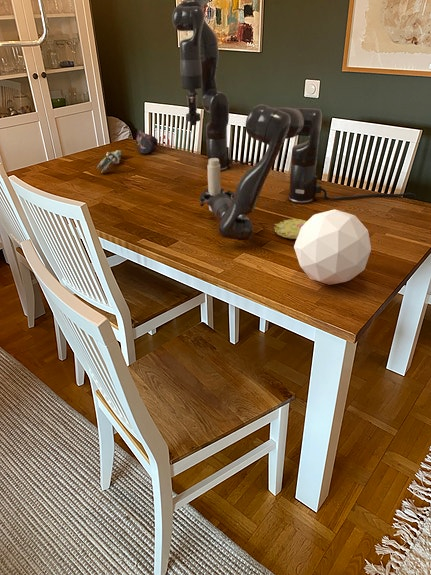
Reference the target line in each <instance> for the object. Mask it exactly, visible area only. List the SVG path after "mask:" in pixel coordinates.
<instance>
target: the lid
mask: <svg viewBox="0 0 431 575" xmlns="http://www.w3.org/2000/svg"><path fill="white" fill-rule="evenodd" d="M185 121H186V122H188V123H190V114H189V112H188V113H186V114H185ZM197 122H201V113H199V112H197V113H196V123H197Z"/></svg>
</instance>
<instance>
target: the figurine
mask: <svg viewBox="0 0 431 575" xmlns="http://www.w3.org/2000/svg"><path fill="white" fill-rule="evenodd" d="M122 153H123V152H122V150H115V151H111V152H110V151H107V152H106V153H105V155H106V156H104V157H103V158H102V159H101V161H100V162H99V163H98V165H97V167H96V169H97V170H100V173H101V174H104V173H105V172H106V171H107V170H108V169H109V168H110V167H111V166H112V165H119V164H120V160H121V158H122V157H123V154H122Z"/></svg>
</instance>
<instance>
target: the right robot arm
mask: <svg viewBox="0 0 431 575" xmlns="http://www.w3.org/2000/svg"><path fill="white" fill-rule="evenodd" d="M322 123H323V114H322V110H321V109H319V108H311V107H297V108H295V107H291V106H284V107H281V106H279V107H272V106H269V105H268V104H263V103H261V104H257V105H255V106H254V107H253V108H252V109H251V110H250V111H249V113H248V114H247V117H246V120H245V132H246V134H247V135H248V136H249V137H250V138H251V139H253V140H255V141H258V142H260V143H263V144H266V145H268V147H267V148H266V151H265V153H264V154H263V156H262V158H261V159H260V160H259V161H258V162H257V163H255V165H253V166H252V167H251V168H250V169H248V170H247V171H246V172H245V173H244V174H243V175H242V176H241V178H240V179H239V180H238V184H237V185H236V188H235V192H233V191H231V190H227V191H226V190H225V189H224V188H222V187H221V193H220V194H217V195H214V194H212V193H209V192H208V188H205V189H204V190H203V193H200V196H199V206H200V207H204V205H207V206H208V207H209V206H210V207H211V209H212V211H213V212H212V211H211V212H212V213H213V215H214V217H215V218H216V219H217V220H218V222H219V223H218V234H219V235H220V237H221V238H224V239H229V240H235V241H244V242H245V241H247V240H249V239H250V238H252V236H253V234H254V224H253V222H252V220H251V219H250V218H249V217H248V216H247V215H248V214H252V213H254V211H255V209H256V206H257V203H258V200H259V198H260V195H261V191H262V190H263V186H264V184H265V182H266V180H267V178H268V175H269V173H270V172H271V170H272V168H273V166H274V164H275V162H276V160H277V159H278V156H279V153H280V151H281V150H282V147H283V145H284V144H285V141H286V140H288V139H293V138H295V137H297V136H299V137H300V136H301V137H308V140H306V141H305V142H300V143H297V144H295V145H293V146H292V148H291V161H290V175H289V190H288V201H290V202H291V203H294V204H299V205H300V204H304V205H305V204H309V203H312V202H315V201H316V196H317V195H318V194H322V192H323V197H324V199H325V200H329V201H341V200H353V199H363V198H372V197H406V196H410V197H412V198H417V195H415V194H414V193H412V192H404V193H371V194H360V195H352V196H351V195H349V196H340V197H333V198H331V197H329V196H328V191H327V190H326V189H325V188H323V186H322V185H321V184H319V182H318V176H317V175H316V173H317V160H318V152H319V144H320V135H321V129H322Z"/></svg>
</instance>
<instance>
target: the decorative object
mask: <svg viewBox="0 0 431 575" xmlns="http://www.w3.org/2000/svg"><path fill="white" fill-rule="evenodd" d="M307 221H308V220H304V219H303V218H292V219H283V221H279V223H274V227H273V229H274V233H276V234H277V236H279V237H282V238H284V239H285V238H286V239H290V240H297V237H298V234H299V232H300V229H301V227H302V226H303V225H304V224H305V223H306V222H307Z"/></svg>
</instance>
